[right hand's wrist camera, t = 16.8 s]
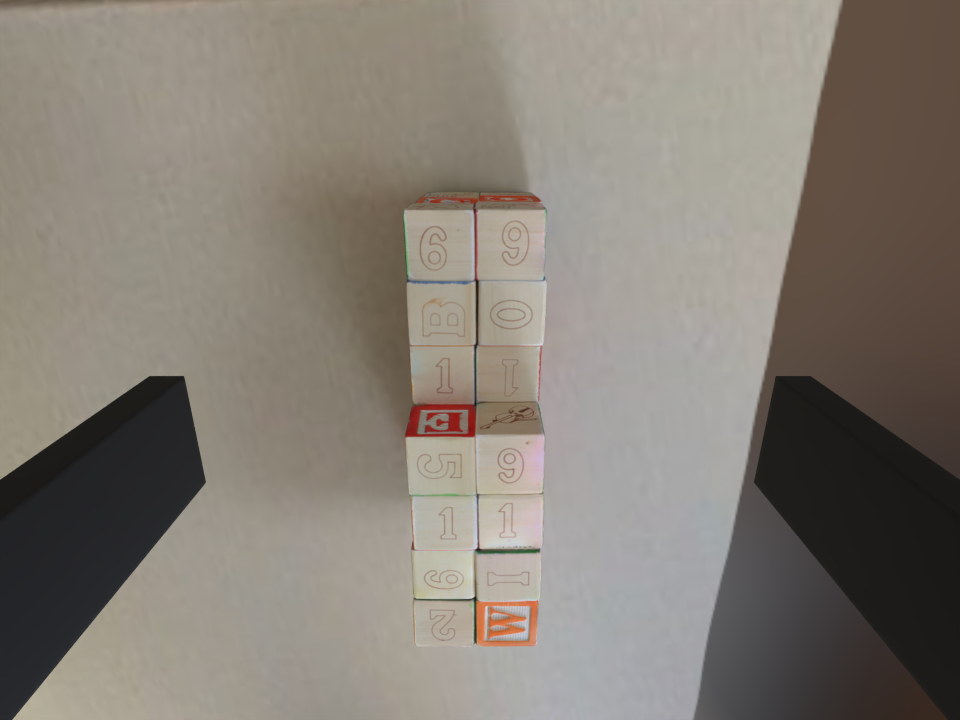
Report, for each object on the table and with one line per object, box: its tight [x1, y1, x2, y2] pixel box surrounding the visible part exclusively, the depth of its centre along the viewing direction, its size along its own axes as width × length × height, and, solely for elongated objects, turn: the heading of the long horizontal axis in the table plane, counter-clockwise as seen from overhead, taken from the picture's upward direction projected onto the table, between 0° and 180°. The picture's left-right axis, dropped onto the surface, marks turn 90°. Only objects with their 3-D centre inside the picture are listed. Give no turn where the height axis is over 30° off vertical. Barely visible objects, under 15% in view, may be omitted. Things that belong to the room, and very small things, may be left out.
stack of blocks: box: [403, 192, 547, 647], centre depth 30 cm, size 21×6×12 cm, turn 0°
